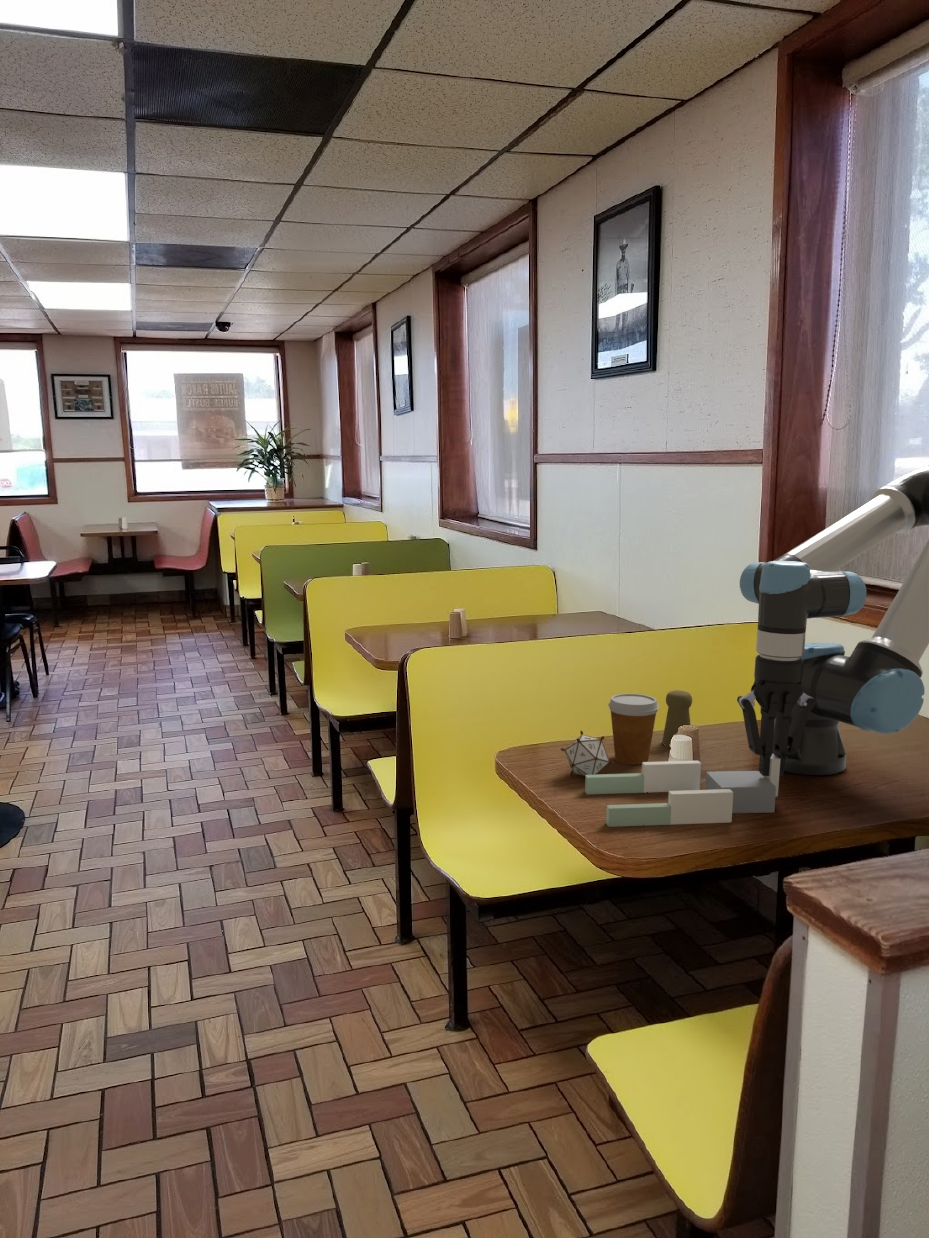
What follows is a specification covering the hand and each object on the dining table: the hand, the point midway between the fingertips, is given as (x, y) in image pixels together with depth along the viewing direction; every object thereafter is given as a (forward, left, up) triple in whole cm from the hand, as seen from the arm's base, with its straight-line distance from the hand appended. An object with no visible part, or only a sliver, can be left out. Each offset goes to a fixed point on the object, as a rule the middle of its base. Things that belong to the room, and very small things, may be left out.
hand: (770, 793), depth 156 cm
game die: (+28, -16, -2) cm, 32 cm away
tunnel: (+20, 0, -2) cm, 20 cm away
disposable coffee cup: (+17, -25, -2) cm, 30 cm away
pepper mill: (+5, -34, -2) cm, 34 cm away
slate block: (+5, 0, -2) cm, 6 cm away
